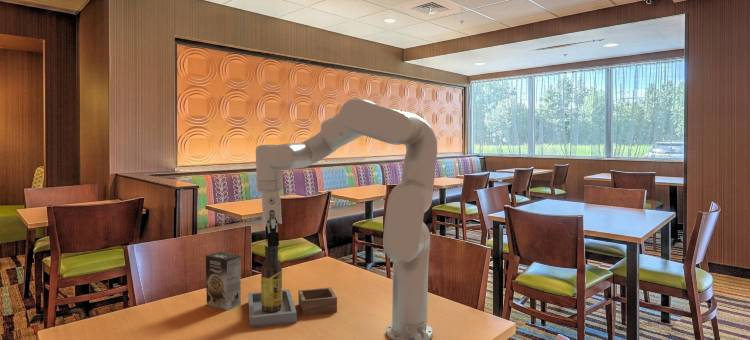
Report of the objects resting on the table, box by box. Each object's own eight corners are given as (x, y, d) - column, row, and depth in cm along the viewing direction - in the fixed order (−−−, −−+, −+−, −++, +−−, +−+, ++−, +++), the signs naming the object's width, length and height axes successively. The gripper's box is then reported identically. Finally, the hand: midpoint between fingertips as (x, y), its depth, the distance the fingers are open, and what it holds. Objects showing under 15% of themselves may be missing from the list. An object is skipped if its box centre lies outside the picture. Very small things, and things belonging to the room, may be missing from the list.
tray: (296, 322, 126) (296, 312, 126) (249, 328, 123) (249, 317, 122) (289, 298, 146) (289, 289, 145) (248, 302, 142) (248, 293, 141)
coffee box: (205, 305, 139) (204, 255, 138) (221, 299, 144) (220, 250, 143) (226, 311, 135) (225, 259, 133) (242, 304, 140) (241, 254, 139)
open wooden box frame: (337, 311, 134) (337, 297, 134) (302, 315, 131) (302, 301, 131) (330, 300, 143) (330, 287, 143) (298, 304, 140) (298, 290, 140)
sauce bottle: (277, 314, 130) (276, 248, 129) (257, 312, 132) (256, 247, 130) (285, 305, 137) (285, 243, 135) (267, 304, 138) (266, 242, 137)
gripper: (285, 188, 124) (287, 247, 125) (280, 183, 140) (282, 235, 142) (258, 189, 122) (260, 250, 123) (255, 184, 138) (258, 237, 139)
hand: (272, 242), depth 132 cm, fingers open, 9 cm apart
